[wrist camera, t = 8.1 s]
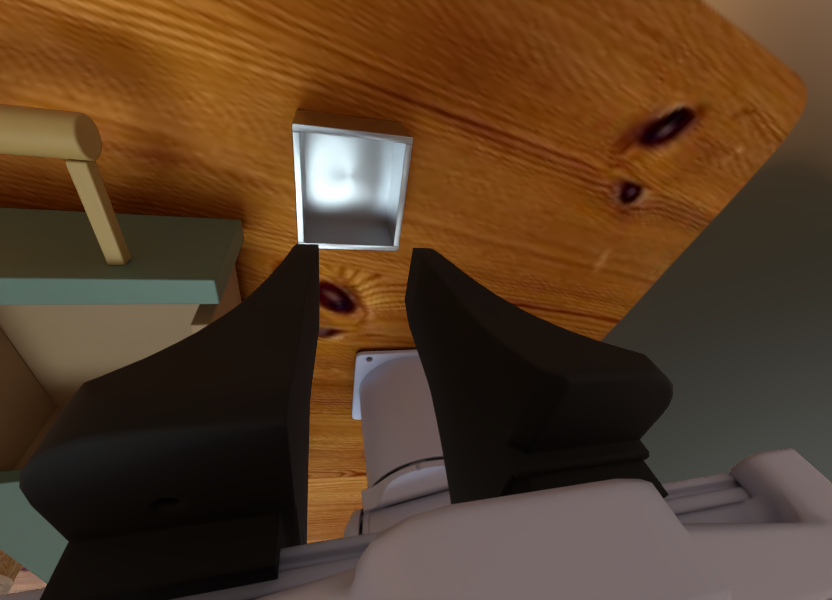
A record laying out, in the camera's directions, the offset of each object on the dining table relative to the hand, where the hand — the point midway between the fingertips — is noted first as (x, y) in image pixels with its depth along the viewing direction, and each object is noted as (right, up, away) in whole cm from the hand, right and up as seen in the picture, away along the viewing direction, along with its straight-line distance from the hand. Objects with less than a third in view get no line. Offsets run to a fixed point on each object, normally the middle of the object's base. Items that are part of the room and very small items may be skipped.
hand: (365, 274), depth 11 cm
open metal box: (-2, +6, +8) cm, 10 cm away
